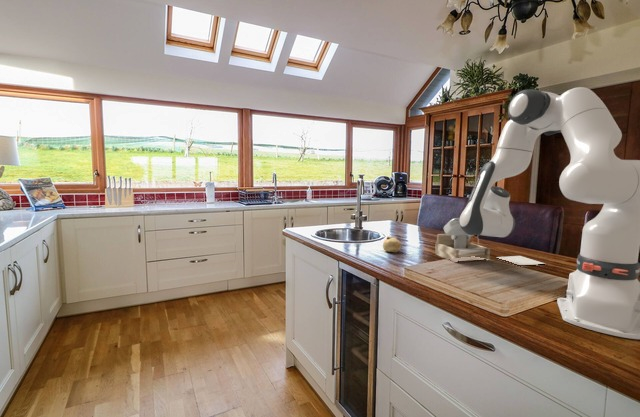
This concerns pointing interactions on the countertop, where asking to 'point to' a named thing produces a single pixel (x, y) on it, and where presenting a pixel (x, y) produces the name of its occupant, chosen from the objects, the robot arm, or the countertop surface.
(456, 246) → the beverage can
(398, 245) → the onion
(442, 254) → the birch rack
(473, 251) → the light wood bar
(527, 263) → the ceramic tile
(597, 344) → the countertop surface
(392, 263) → the countertop surface
